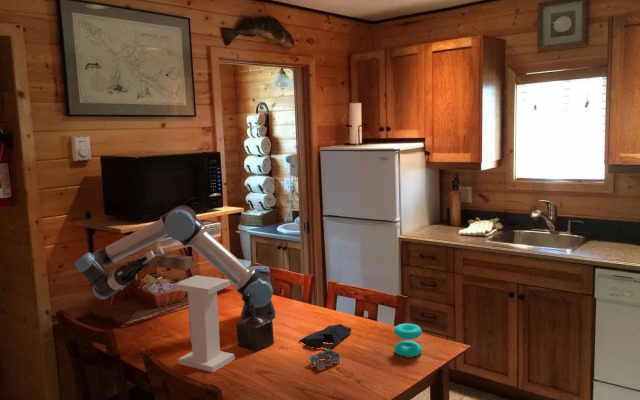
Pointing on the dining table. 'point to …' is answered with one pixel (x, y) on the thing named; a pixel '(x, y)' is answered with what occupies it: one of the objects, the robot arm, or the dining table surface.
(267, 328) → the pepper mill
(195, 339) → the pedestal stand
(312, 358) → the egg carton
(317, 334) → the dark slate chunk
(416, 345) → the donuts
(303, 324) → the dining table surface
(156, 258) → the walnut bar
